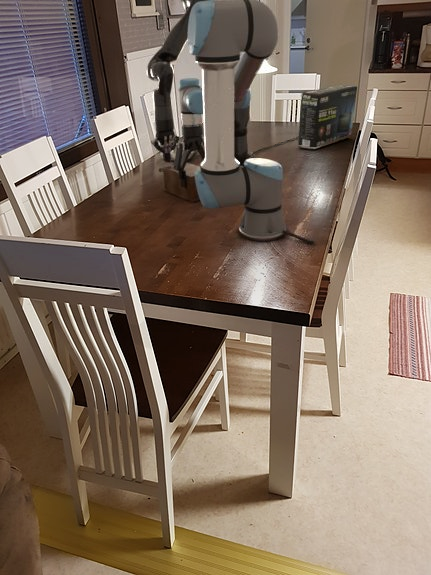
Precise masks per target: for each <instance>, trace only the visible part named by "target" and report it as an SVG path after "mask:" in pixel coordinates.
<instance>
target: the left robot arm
mask: <svg viewBox="0 0 431 575" xmlns="http://www.w3.org/2000/svg"><path fill="white" fill-rule="evenodd" d="M201 1H208V0H181V4H182V7H183V10H184V11H185V13H184V14H183V15H182V17H181V18H180V19H179V20H178V21H177V22H176V24H174V25H173V27H172V28H171V29H170V31H169V32H168V33H167V36H166V37H165V39H164V41H163V43H162V45H161V46H160V48H159V49H158V50H157V51H156V53H154V55H153V56H152V57H151V58H150V60H149V62H148V63H147V67H146V75H147V77H148V78H149V80H151V81H152V82H158V86H157V88H155V89H153V91H152V104H153V121H154V130H155V135H154V139H152V140H150V144H152V146H153V147H154V148H155V149H156V150H157V151H158V152H159V153H161V152H162V153H163V158H162V160H163V161H164V162H165V163H170V162H171V161H172V160H171V151H172V150H174V149H175V147H176V143H177V142H179V141H180V136H178V135H176V133H175V131H174V130H175V122H174V110H173V102H172V90H173V84H174V77H175V72H174V68H173V64H171V63H173V62H176V61H177V60H178V59H179V57H180V55H181V54H182V51H183V50H184V47H185V45H186V43H187V42H188V23H189V17H190V13H191V9H192V7H193V6H194V5H195V4H196V3H197V2H201ZM250 110H251V104H250V105H249V106H248V107H247V108H243V109H239V110H236V109H235V110H234V157H235V158H236V159H237V160H238V161H239V164H240V166H244V163H245V160H247V159H250V157H251V158H254V155H253V154H255V153H258V152H260V151H263V150H265V149H267V148H266V146H263V147H261V148H258V149H256V150H254V151H251V153H249V150H248V149H249V144H248V125H249V121H250V113H251V111H250Z"/></svg>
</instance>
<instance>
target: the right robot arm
mask: <svg viewBox="0 0 431 575" xmlns="http://www.w3.org/2000/svg"><path fill="white" fill-rule="evenodd" d="M279 34H280V30H279V24H278V20H277V18H276V16H275V14H274V12H273V10H272V9H271V8H270V7H269V6H268V5H267V4H265V3H264V2H262V1H260V0H208V1H201V2H197V3H196V4H195V5H194V6H193V7H192V9H191V13H190V17H189V23H188V40H187V48H188V52H189V54H190V55H192V56H194V57H195V58H194V59H195V63H196V65H198V66H199V68H200V69H201V82H200V79H199V78H196V77H186V78H185V77H184V78H181V79H179V81H178V95H179V96H178V97H179V106H180V108H179V109H180V120H181V121H180V122H181V135H182V138H183V139H182V141H180V142H179V141H178V142H177V143H176V148H177V150H176V155H175V161H174V160H173V161H174V162H173V165H174V167H173V168H174V169H175V170H178V173H179V179H181V187H184V188H187V183H186V171H185V170H184V168H185V165H186V163H188V161H189V159H188V157H189V155H190V154H191V152H193V151H195V150H197V151H198V154H199V155H200V158H201V159H202V161H201V162H200V163H199V167H200V171H199V170H198V171H196V172H195V182H196V187H197V191H198V195H199V198H200V200H199V201H200V204H201V205H202V207H203V208H205V209H207V210H215V209H217V210H219V209H224V208H232V207H239V206H244V211H243V213H242V216H241V220H240V222H239V226H238V232H239V235H240V236H241V237H242V238H244V239H247V240H250V241H254V242H271V241H277V240H279V239H281V238H283V237H285V235H287V236H289V237H292V238H294V239H298V240H300V241H302V242H305V243H308V244H312V245H313V244H314V243H315V241H314V240H312V239H307V238H305V237H302V236H300V235H298V234H295V233H292V232H290V231H287V223H286V221H285V216H284V214H283V210H282V200H283V183H284V175H283V173H284V172H283V171H284V170H283V166H282V164H280V163H279V162H278V161H275V160H272V159H268V158H263V157H253V158H250V157H249V159H247V160H245V163H244V166H240V164H239V161H238V160H237V159H236V158H235V157H234V110H235V109H236V110H239V109H243V108H247V107H248V106H249V105H250V106H251V99H252V96H251V93H252V92H251V87H252V86H253V83H254V81H255V79H256V77H257V76H258V73H259V71H260V70H261V68H262V66H263V65H264V62H265V60H266V59H268V58H270V57H271V56H272V54H273V53H274V51H275V49H276V47H277V45H278V41H279V37H280V36H279ZM202 123H203V125H202ZM184 146H185V147H184ZM183 148H184V150H183ZM187 150H188V151H187ZM182 154H183V155H182Z"/></svg>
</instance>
